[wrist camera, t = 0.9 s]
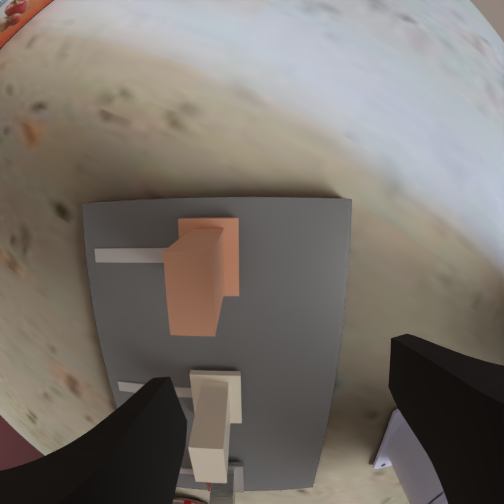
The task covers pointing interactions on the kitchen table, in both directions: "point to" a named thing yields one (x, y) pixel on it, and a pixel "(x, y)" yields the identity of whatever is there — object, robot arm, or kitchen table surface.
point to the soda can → (186, 501)
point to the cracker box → (17, 15)
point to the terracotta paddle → (201, 273)
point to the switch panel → (232, 320)
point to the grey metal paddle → (228, 485)
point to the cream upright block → (213, 422)
